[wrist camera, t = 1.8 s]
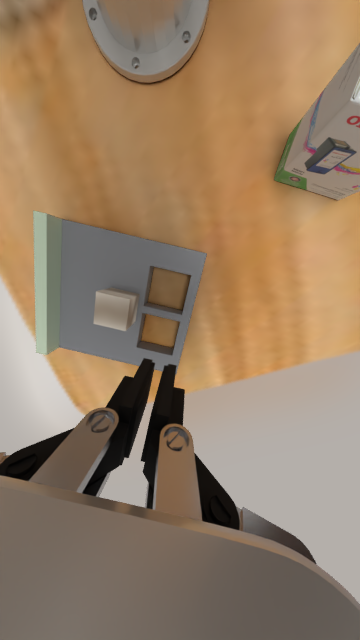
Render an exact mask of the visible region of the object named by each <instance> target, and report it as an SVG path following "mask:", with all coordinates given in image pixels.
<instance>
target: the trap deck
mask: <svg viewBox="0 0 360 640" xmlns="http://www.w3.org/2000/svg"><path fill="white" fill-rule="evenodd" d="M33 219H34V269H35V319H36V352H37V353H40V354H45V355H47V354H49V353H51V352H52V351H54V350H55V349H57V348H59V347H60V348H65V349H69V350H73V351H77V352H82V353H86V354H90V355H95V356H99V357H103V358H107V359H112V360H116V361H120V362H125V363H129V364H133V365H137V366H140V364H141V362H142V360H143V359H144V358H147V359H151V360H153V361H152V362H154V363H155V367H154V369H155V370H159V371H163V369H164V365H166V366H168V364H173V365H177V367H176V373H177V369H178V365H179V361H180V357H181V353H182V349H183V345H184V341H185V338H186V334H187V330H188V326H189V322H190V318H191V314H192V310H193V306H194V302H195V298H196V294H197V290H198V287H199V283H200V279H201V275H202V271H203V267H204V263H205V259H206V255H207V253H202V252H198V251H194V250H190V249H186V248H181V247H177V246H173V245H169V244H165V243H160V242H156V241H152V240H148V239H144V238H139V237H135V236H131V235H127V234H123V233H118V232H114V231H110V230H106V229H101V228H97V227H93V226H89V225H85V224H80V223H76V222H72V221H68V220H64V219H60V218H58V217H55V216H52V215H49V214H46V213H42V212H38V211H34V210H33ZM154 267H158V268H163V269H167V270H171V271H175V272H179V273H184V274H188V275H191V278H190V283H189V287H188V291H187V295H186V299H185V304H184V308H183V311H182V310H178V309H173V308H169V307H165V306H161V305H156V304H152V303H148V297H149V291H150V286H151V280H152V274H153V268H154ZM107 288H115V289H120V290H124V291H128V292H132V293H137V294H140V296H139V302H138V308H137V315H136V321H135V322H134V323H133V324H132V325H131V326H130V327H129V328H128V329H127V330H126V331H122V330H118V329H114V328H109V327H105V326H101V325H97V324H93V323H94V311H95V299H96V291H100V290H104V289H107ZM145 314H150V315H154V316H158V317H162V318H167V319H171V320H175V321H179V322H180V325H179V329H178V333H177V337H176V341H175V346H174V348H170V347H166V346H161V345H157V344H153V343H149V342H144V341H141V337H142V332H143V326H144V320H145Z"/></svg>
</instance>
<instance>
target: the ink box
mask: <svg viewBox="0 0 360 640" xmlns="http://www.w3.org/2000/svg"><path fill="white" fill-rule="evenodd" d="M274 180H275V181H278V182H281V183H285V184H288V185H291V186H295V187H298V188H301V189H304V190H308V191H311V192H314V193H317V194H321V195H324V196H327V197H330V198H333V199H336V200H340V199H343V198H345V197H347V196H349V195H352V194H354V193H356V192H359V191H360V43H359V45H358V46H357V47H356V48H355V50H354V51H353V52H352V54H351V55H350V56H349V58H348V59H347V60H346V61H345V63H344V64H343V65H342V67H341V68H340V69H339V70H338V72H337V73H336V74H335V76H334V77H333V78H332V80H331V81H330V82H329V84H328V85H327V86H326V88H325V89H324V90H323V92H322V93H321V94H320V96H319V97H318V98H317V99H316V101H315V102H314V103H313V105H312V106H311V107H310V109H309V110H308V111H307V113H306V114H305V115H304V117H303V118H302V119H301V120H300V122H299V123H298V124H297V126H296V127H295V128H294V130H293V131H292V132H291V134H290V136H289V138H288V141H287V144H286V147H285V149H284V152H283V155H282V158H281V160H280V163H279V166H278V169H277V171H276V174H275V177H274Z"/></svg>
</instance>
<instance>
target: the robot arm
mask: <svg viewBox="0 0 360 640" xmlns="http://www.w3.org/2000/svg"><path fill="white" fill-rule="evenodd" d="M82 2H83V8H84V11H85V15H86V18H87V22H88V25H89V27H90V30H91V32H92V35H93V37H94V39H95V41H96V43H97V45H98V47H99V49H100V51H101V53H102V54H103V56H104V57H105V58H106V60H107V61H108V62H109V64H110V65H111V66H112V67H113V68H114V69H116V70H117V71H118V72H119V73H120V74H122V75H124V76H125V77H127V78H129V79H131V80H135V81H138V82H148V83H151V82H156V81H160V80H163V79H165V78H167V77H169V76H171V75H173V74H174V73H175V72H176V71H178V70H179V69H180V68H181V67H182V66H183V65H184V64H185V63H186V61H187V60H188V59H189V58H190V57H191V55H192V53H193V52H194V50H195V48H196V46H197V45H198V43H199V40H200V38H201V35H202V33H203V30H204V27H205V23H206V19H207V15H208V9H209V0H82ZM152 361H153V360H151V359H147V358H144V359H143V360H142V362H141V364H140V366H139V368H138V370H137V372H136V374H135V376H134V378H133V377H128V376H125V377H124V378H123V380H122V381H121V383H120V385H119V386H118V388H117V389H116V391H115V393H114V394H113V396H112V398H111V399H110V401H109V403H108V404H107V406H106V408H97V409H94V410H92V411H90V412H89V413H88V414H87V415H86V416H85V417H84V418H83V419H82V420H81V421H80V423H79V424H78V425H77V426H76V427H75V428H73V429H71V430H68V431H66V432H63V433H61V434H58V435H56V436H53V437H51V438H48V439H46V440H43V441H41V442H38V443H36V444H33V445H31V446H28V447H26V448H23V449H21V450H19V451H17V452H15V453H13V454H12V455H6V453H5V452H2V453H0V640H360V604H359V603H358V602H357V601H356V599H355V598H354V597H353V596H352V595H351V594H350V593H349V592H348V591H347V590H346V589H345V588H344V587H343V586H342V585H341V584H340V583H339V582H337V581H336V580H335V579H334V578H333V577H332V576H330V575H329V574H328V573H326V572H325V571H324V570H323V569H321V568H320V567H319V566H318V565H316V562H315V560H314V558H313V556H312V555H311V553H310V551H309V550H308V549H307V547H306V546H305V545H304V544H303V543H302V542H301V541H300V540H299V539H297V538H296V537H295V536H294V535H292V534H290V533H289V532H287V531H285V530H283V529H281V528H280V527H278V526H276V525H274V524H272V523H271V522H269V521H267V520H265V519H264V518H262V517H260V516H258V515H257V514H255V513H253V512H251V511H250V510H248V509H246V508H244V507H243V508H242V510H241V509H240V508H238V507H236V506H235V504H234V502H233V501H232V499H231V498H230V496H229V495H228V494H227V493H226V491H225V490H224V489H223V487H222V486H221V485H220V484H219V483H218V481H217V480H216V479H215V478H214V476H213V475H212V474H211V473H210V471H209V470H208V469H207V468H206V466H205V465H204V464H203V463H202V461H201V460H200V459H199V458H198V456H197V455H196V454H195V453H194V447H193V440H192V436H191V434H190V432H189V431H188V430H187V429H186V428H185V427H183V411H184V393H185V390H184V389H180V388H175V387H174V380H175V374H176V367H177V365H173V364H168V366H166V365H164V369H163V372H162V376H161V380H160V383H159V387H158V391H157V394H156V398H155V401H154V406H153V409H152V413H151V417H150V422H149V426H148V431H147V435H146V440H145V444H144V449H143V453H142V457H141V461H143V462H145V465H144V469H143V473H144V475H145V477H146V479H147V480H148V485H147V494H146V503H145V508H144V507H138V506H135V505H130V504H126V503H122V502H117V501H113V500H109V499H104V498H100V497H99V496H100V494H101V492H102V490H103V488H104V485H105V484H106V482H107V480H108V478H109V475H110V472H111V471H112V470H114V469H115V468H117V467H118V466H119V465H122V463H123V460H124V457H126V458H129V455H130V452H131V449H132V446H133V443H134V440H135V437H136V434H137V431H138V428H139V425H140V422H141V419H142V416H143V412H144V410H145V407H146V403H147V400H148V396H149V391H150V386H151V381H152V377H153V372H154V367H155V363H154V362H152Z"/></svg>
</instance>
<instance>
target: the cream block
mask: <svg viewBox="0 0 360 640" xmlns="http://www.w3.org/2000/svg"><path fill="white" fill-rule="evenodd" d="M139 296H140V294H137V293H132V292H128V291H124V290H120V289H115V288H107V289H104V290H100V291H96V299H95V311H94V323H93V324H97V325H101V326H105V327H109V328H114V329H118V330H122V331H126V330H127V329H128V328H129V327H130V326H131V325H132V324H133V323H134V322H135V321H136V315H137V308H138V302H139Z"/></svg>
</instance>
